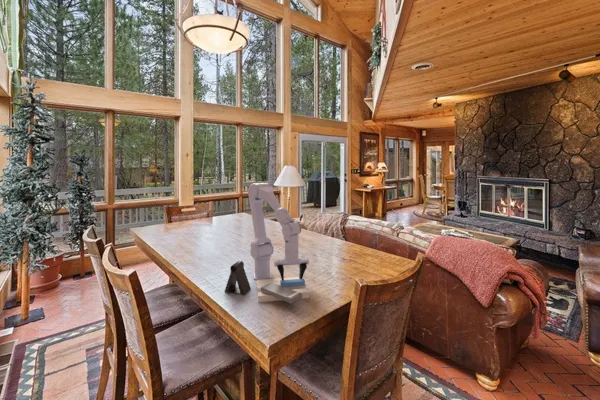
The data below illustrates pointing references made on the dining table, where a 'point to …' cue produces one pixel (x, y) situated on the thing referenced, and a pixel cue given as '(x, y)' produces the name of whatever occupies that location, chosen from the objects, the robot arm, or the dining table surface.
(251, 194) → the robot arm
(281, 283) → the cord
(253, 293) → the dining table surface
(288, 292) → the cover
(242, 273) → the black folding stand
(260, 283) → the duct deck
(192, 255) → the dining table surface
